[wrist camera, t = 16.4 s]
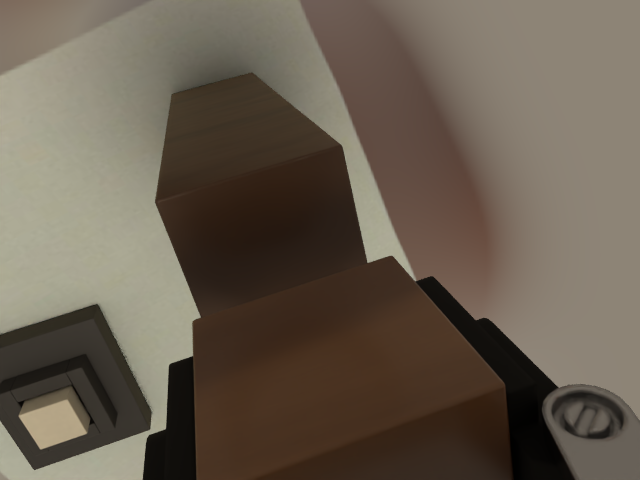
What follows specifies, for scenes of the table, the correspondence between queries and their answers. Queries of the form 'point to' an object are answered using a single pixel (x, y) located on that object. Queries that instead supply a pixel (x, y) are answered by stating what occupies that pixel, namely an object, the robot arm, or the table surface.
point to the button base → (70, 382)
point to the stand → (253, 195)
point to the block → (345, 387)
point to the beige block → (55, 417)
